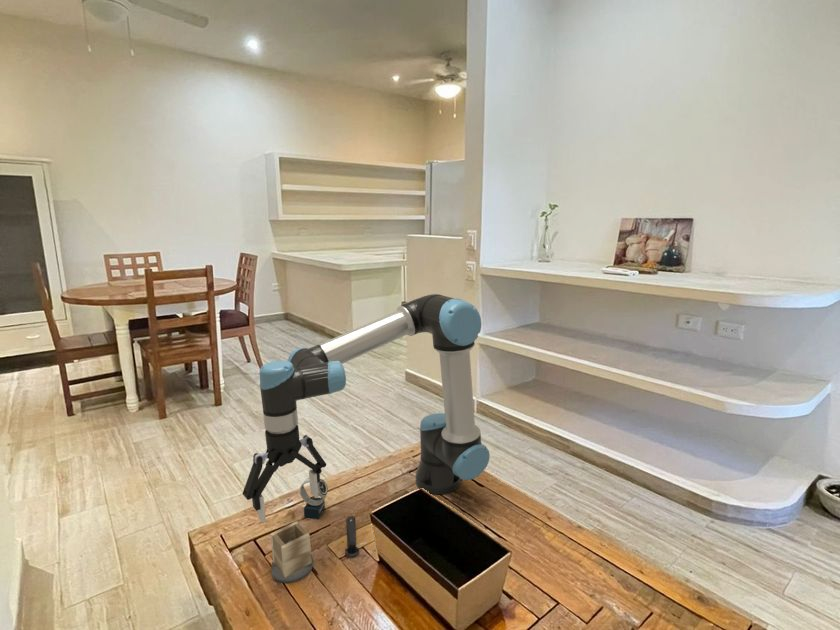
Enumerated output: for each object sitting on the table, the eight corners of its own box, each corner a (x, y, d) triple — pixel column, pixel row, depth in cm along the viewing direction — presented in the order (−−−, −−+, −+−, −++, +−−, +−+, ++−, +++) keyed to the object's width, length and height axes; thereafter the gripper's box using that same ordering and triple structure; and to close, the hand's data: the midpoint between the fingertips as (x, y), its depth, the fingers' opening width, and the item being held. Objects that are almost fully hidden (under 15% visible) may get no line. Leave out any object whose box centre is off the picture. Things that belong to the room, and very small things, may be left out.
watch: (324, 519, 129) (322, 485, 127) (298, 517, 130) (296, 483, 128) (331, 507, 134) (329, 475, 132) (306, 505, 136) (303, 473, 133)
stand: (358, 546, 118) (357, 513, 116) (359, 556, 115) (358, 522, 113) (345, 548, 117) (343, 515, 115) (345, 558, 114) (343, 524, 112)
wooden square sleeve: (298, 548, 116) (296, 521, 114) (311, 562, 111) (309, 535, 109) (273, 561, 111) (270, 533, 110) (285, 577, 106) (282, 548, 104)
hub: (313, 550, 117) (312, 525, 115) (312, 579, 107) (310, 552, 106) (274, 556, 115) (272, 530, 113) (269, 586, 105) (267, 559, 104)
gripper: (321, 406, 114) (326, 480, 119) (221, 439, 98) (231, 522, 103) (336, 415, 109) (341, 492, 113) (233, 452, 92) (243, 539, 97)
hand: (289, 507), depth 108 cm, fingers open, 13 cm apart
